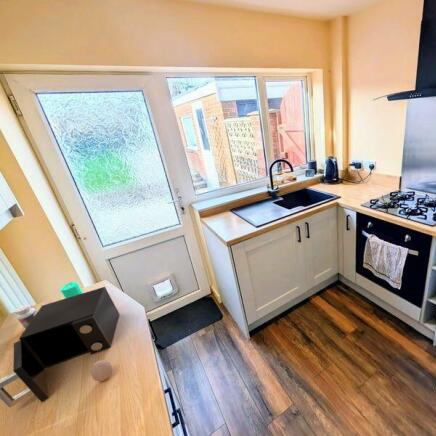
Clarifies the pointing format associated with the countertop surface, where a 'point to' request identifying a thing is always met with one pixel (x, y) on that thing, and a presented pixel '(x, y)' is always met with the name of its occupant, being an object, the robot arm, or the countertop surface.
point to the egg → (101, 370)
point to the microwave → (72, 327)
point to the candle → (71, 289)
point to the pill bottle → (25, 315)
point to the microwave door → (25, 376)
